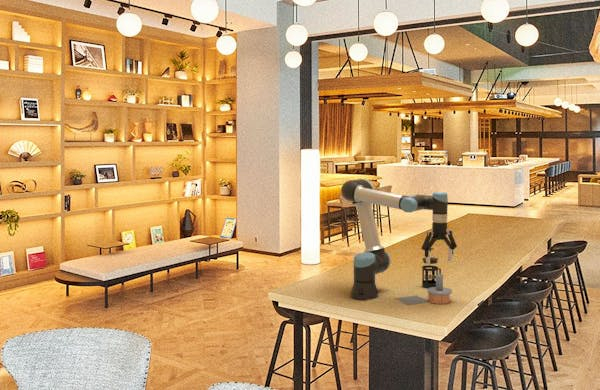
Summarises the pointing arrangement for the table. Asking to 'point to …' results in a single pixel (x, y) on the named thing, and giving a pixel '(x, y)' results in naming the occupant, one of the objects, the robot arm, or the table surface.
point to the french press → (426, 282)
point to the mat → (412, 300)
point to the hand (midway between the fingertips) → (438, 262)
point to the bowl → (439, 298)
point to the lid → (439, 287)
